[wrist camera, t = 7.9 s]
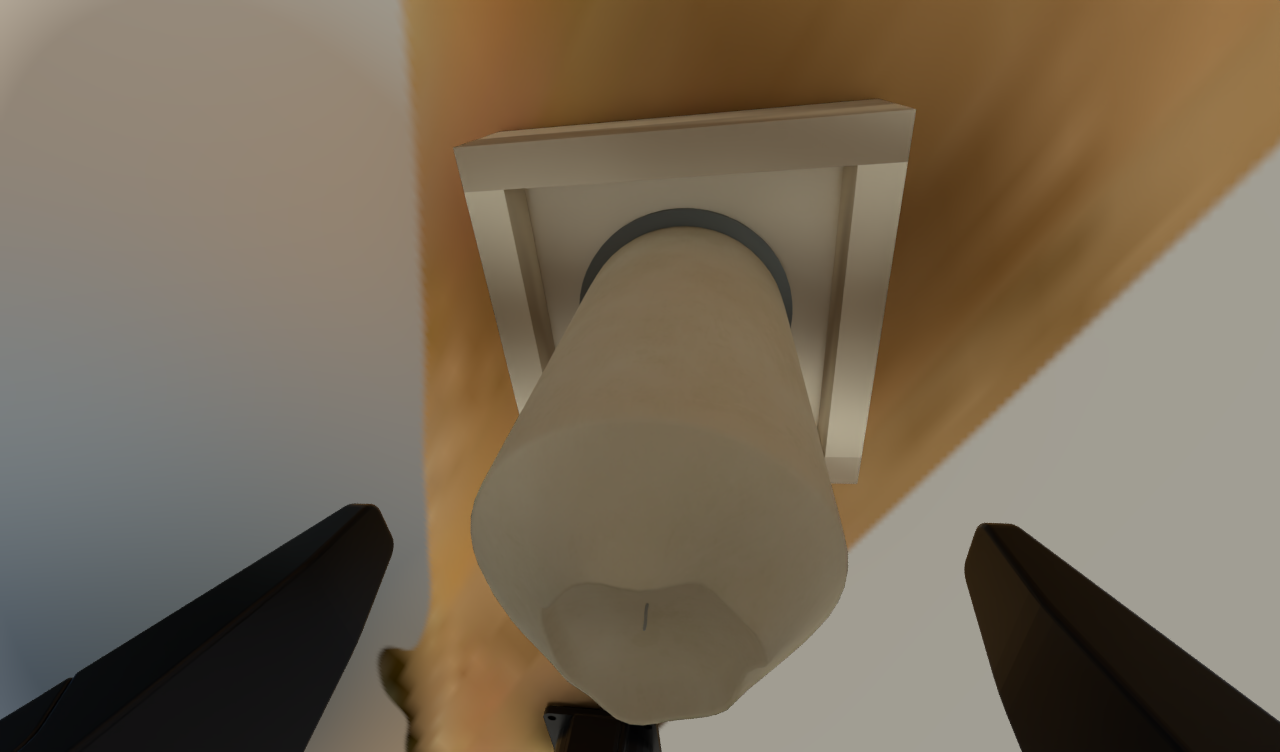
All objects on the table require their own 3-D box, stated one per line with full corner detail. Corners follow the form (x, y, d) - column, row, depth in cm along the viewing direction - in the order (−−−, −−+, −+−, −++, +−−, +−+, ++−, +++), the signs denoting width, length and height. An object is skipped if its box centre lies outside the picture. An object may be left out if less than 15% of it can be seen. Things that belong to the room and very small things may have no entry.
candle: (561, 248, 14) (338, 530, 6) (768, 199, 13) (859, 473, 5) (618, 412, 17) (519, 771, 9) (794, 385, 16) (885, 778, 7)
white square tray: (838, 424, 18) (857, 483, 16) (558, 423, 20) (535, 477, 17) (878, 99, 13) (916, 108, 11) (499, 131, 15) (453, 147, 12)
